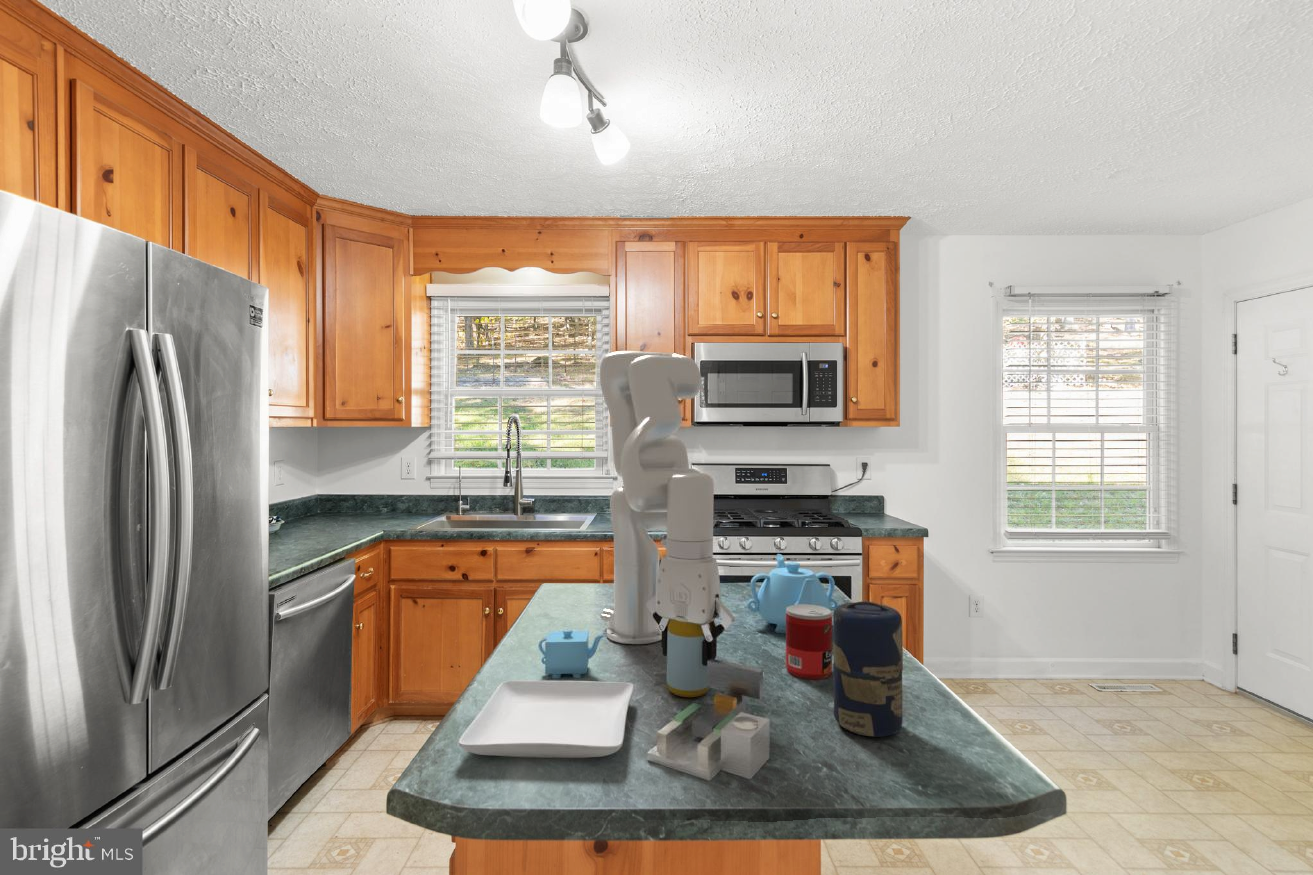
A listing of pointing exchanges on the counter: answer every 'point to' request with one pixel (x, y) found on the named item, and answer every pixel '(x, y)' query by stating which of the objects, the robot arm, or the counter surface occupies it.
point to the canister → (868, 668)
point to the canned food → (809, 641)
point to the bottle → (685, 655)
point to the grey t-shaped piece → (728, 693)
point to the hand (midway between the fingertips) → (688, 657)
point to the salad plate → (551, 720)
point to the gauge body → (713, 745)
